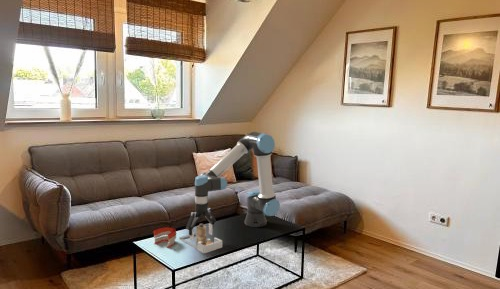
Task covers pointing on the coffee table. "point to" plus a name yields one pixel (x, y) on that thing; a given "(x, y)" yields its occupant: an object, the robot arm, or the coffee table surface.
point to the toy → (165, 231)
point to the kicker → (202, 235)
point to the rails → (186, 241)
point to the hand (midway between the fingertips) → (201, 237)
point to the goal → (210, 246)
